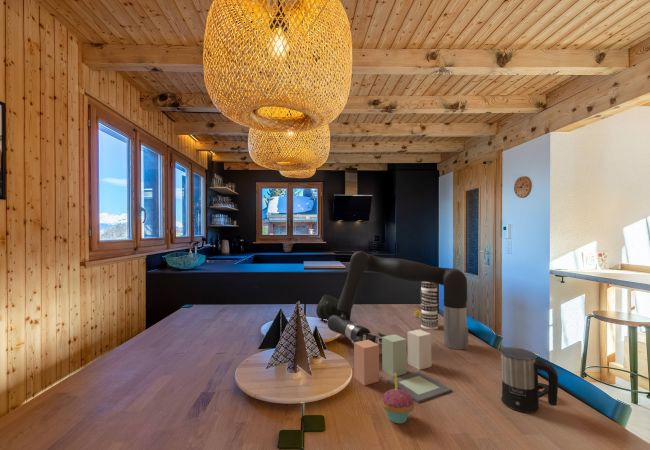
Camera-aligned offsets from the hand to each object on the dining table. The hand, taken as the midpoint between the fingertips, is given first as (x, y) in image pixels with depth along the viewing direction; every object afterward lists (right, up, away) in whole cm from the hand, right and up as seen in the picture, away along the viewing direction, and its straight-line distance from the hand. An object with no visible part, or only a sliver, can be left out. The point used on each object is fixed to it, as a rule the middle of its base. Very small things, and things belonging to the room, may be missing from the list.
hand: (381, 346), depth 118 cm
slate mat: (+9, -6, -18) cm, 21 cm away
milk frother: (+38, -6, -26) cm, 47 cm away
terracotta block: (-7, -6, -12) cm, 16 cm away
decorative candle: (+34, -7, +45) cm, 56 cm away
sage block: (+4, -6, -7) cm, 10 cm away
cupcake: (-2, -6, -35) cm, 35 cm away
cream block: (+14, -6, -1) cm, 16 cm away
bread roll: (+36, -8, +64) cm, 74 cm away
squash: (-19, -8, +58) cm, 62 cm away
